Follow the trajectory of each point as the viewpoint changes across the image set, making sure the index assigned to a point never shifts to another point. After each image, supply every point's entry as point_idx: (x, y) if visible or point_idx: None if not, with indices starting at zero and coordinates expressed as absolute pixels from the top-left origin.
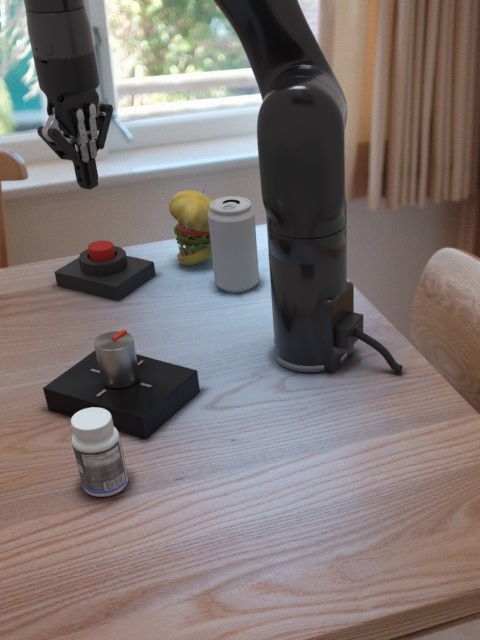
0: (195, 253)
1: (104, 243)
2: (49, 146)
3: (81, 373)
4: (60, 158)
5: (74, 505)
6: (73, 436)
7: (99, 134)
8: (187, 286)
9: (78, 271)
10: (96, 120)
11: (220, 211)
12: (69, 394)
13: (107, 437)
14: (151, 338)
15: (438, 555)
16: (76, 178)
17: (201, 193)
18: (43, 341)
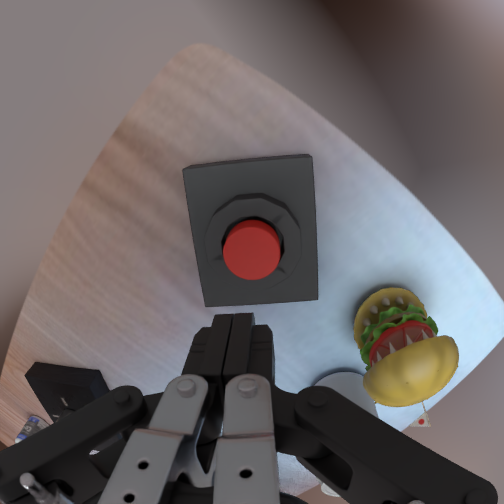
0: (361, 348)
1: (263, 255)
2: (47, 427)
3: (54, 392)
4: (114, 389)
5: (24, 416)
6: (15, 441)
7: (327, 479)
8: (305, 345)
9: (209, 210)
10: (380, 500)
11: (321, 488)
12: (37, 396)
13: None
14: (166, 380)
15: None
16: (193, 342)
17: (444, 385)
18: (75, 280)
